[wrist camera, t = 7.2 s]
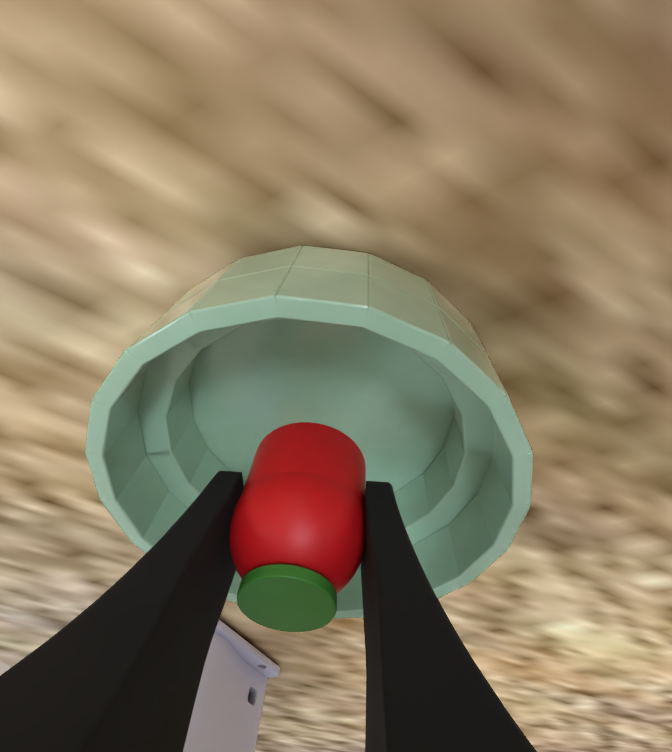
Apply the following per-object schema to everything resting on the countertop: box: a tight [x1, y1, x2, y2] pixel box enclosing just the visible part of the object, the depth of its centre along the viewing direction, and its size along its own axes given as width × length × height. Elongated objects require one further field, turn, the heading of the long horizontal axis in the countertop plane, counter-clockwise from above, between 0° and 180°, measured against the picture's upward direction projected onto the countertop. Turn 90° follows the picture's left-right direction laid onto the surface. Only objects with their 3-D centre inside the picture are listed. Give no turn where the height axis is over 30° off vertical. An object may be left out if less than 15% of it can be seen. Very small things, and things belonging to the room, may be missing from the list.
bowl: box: [85, 246, 533, 619], centre depth 13 cm, size 12×12×4 cm
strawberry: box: [229, 422, 366, 632], centre depth 11 cm, size 4×4×4 cm
